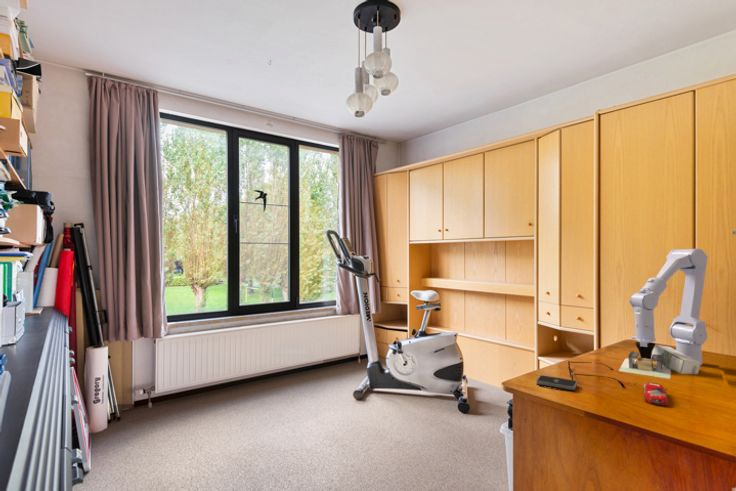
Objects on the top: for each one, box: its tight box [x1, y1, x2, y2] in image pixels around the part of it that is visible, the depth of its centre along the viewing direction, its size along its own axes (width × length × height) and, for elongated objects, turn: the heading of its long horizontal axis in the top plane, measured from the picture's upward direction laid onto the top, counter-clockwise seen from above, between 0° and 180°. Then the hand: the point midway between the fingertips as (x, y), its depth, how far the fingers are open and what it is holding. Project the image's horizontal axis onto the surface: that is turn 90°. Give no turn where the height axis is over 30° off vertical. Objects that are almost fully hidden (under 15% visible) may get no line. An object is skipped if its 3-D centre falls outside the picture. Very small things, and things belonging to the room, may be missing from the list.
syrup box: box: [651, 344, 701, 375], centre depth 131 cm, size 6×6×14 cm
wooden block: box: [637, 357, 654, 371], centre depth 131 cm, size 5×4×3 cm
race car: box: [643, 382, 669, 406], centre depth 107 cm, size 13×5×4 cm, turn 144°
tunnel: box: [628, 351, 662, 373], centre depth 132 cm, size 8×9×4 cm
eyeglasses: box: [567, 360, 626, 388], centre depth 126 cm, size 16×16×4 cm
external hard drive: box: [536, 374, 578, 393], centre depth 119 cm, size 7×11×2 cm, turn 53°
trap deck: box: [618, 358, 672, 380], centre depth 132 cm, size 20×14×2 cm
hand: (646, 362), depth 134 cm, fingers closed
